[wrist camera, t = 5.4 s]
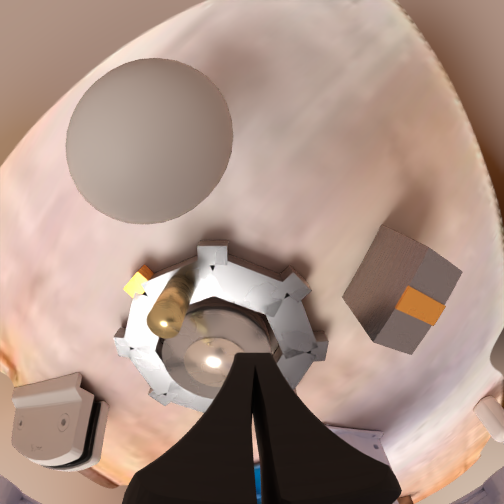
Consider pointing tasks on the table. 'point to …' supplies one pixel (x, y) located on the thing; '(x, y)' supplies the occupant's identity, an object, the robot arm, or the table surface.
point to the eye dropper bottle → (491, 417)
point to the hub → (212, 344)
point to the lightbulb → (149, 141)
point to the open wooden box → (405, 500)
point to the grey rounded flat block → (59, 424)
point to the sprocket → (225, 287)
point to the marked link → (400, 290)
